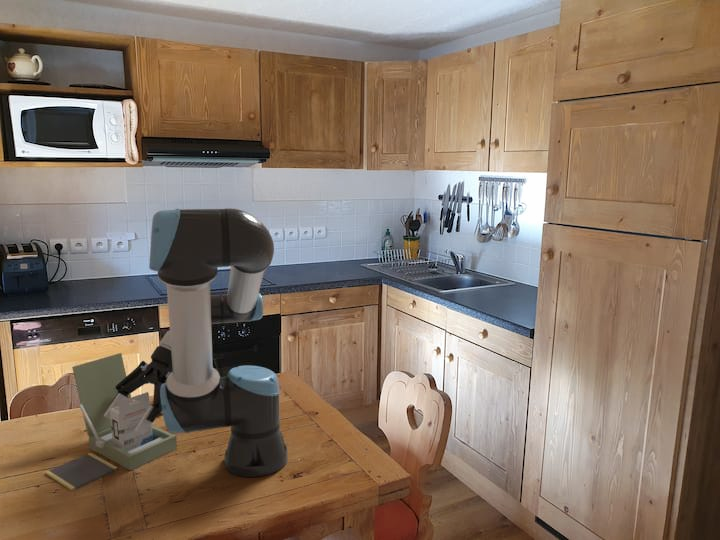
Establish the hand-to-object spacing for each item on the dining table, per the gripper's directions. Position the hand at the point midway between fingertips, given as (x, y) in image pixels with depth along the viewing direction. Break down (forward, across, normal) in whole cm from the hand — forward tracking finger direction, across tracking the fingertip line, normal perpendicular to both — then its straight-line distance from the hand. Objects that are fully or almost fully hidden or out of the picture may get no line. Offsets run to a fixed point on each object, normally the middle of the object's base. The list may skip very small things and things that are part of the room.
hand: (123, 425), depth 138 cm
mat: (+13, 0, +3) cm, 13 cm away
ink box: (+4, 0, -7) cm, 8 cm away
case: (+4, +3, -6) cm, 8 cm away
